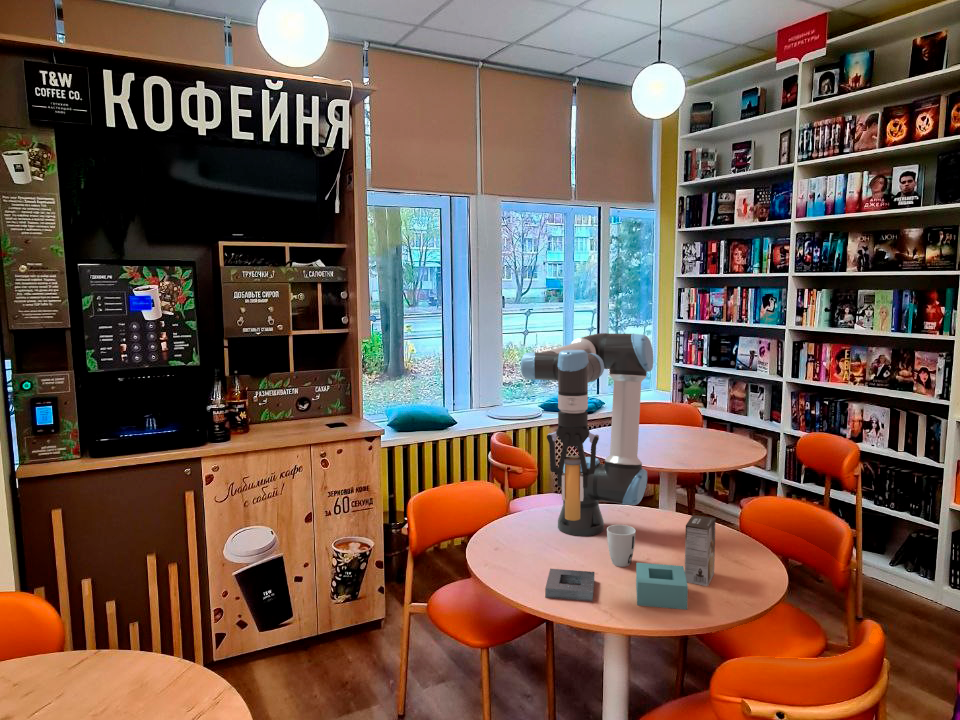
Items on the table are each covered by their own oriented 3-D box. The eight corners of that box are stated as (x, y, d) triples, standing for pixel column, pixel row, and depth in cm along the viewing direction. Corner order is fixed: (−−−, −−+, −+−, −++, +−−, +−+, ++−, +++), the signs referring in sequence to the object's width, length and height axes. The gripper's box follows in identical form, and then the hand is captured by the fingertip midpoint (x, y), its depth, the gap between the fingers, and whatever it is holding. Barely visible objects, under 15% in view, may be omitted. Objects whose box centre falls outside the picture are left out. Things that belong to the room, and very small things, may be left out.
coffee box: (690, 569, 184) (692, 514, 182) (714, 573, 181) (716, 517, 179) (683, 582, 176) (685, 524, 174) (708, 587, 173) (710, 528, 171)
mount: (550, 577, 180) (550, 568, 180) (594, 580, 177) (594, 571, 177) (545, 597, 168) (545, 588, 168) (592, 601, 166) (592, 592, 165)
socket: (636, 584, 175) (636, 562, 174) (682, 587, 173) (683, 566, 172) (637, 605, 163) (637, 582, 163) (687, 609, 161) (687, 586, 160)
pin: (564, 514, 173) (564, 455, 172) (582, 515, 172) (582, 456, 171) (562, 520, 169) (562, 460, 167) (581, 521, 168) (581, 460, 166)
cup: (635, 570, 184) (636, 535, 183) (606, 567, 185) (606, 533, 184) (634, 558, 192) (635, 525, 191) (606, 556, 193) (606, 523, 192)
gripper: (537, 412, 166) (538, 501, 168) (606, 414, 162) (605, 505, 165) (541, 406, 173) (541, 492, 176) (607, 408, 169) (606, 496, 172)
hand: (572, 498), depth 170 cm, fingers closed on pin, 4 cm apart
